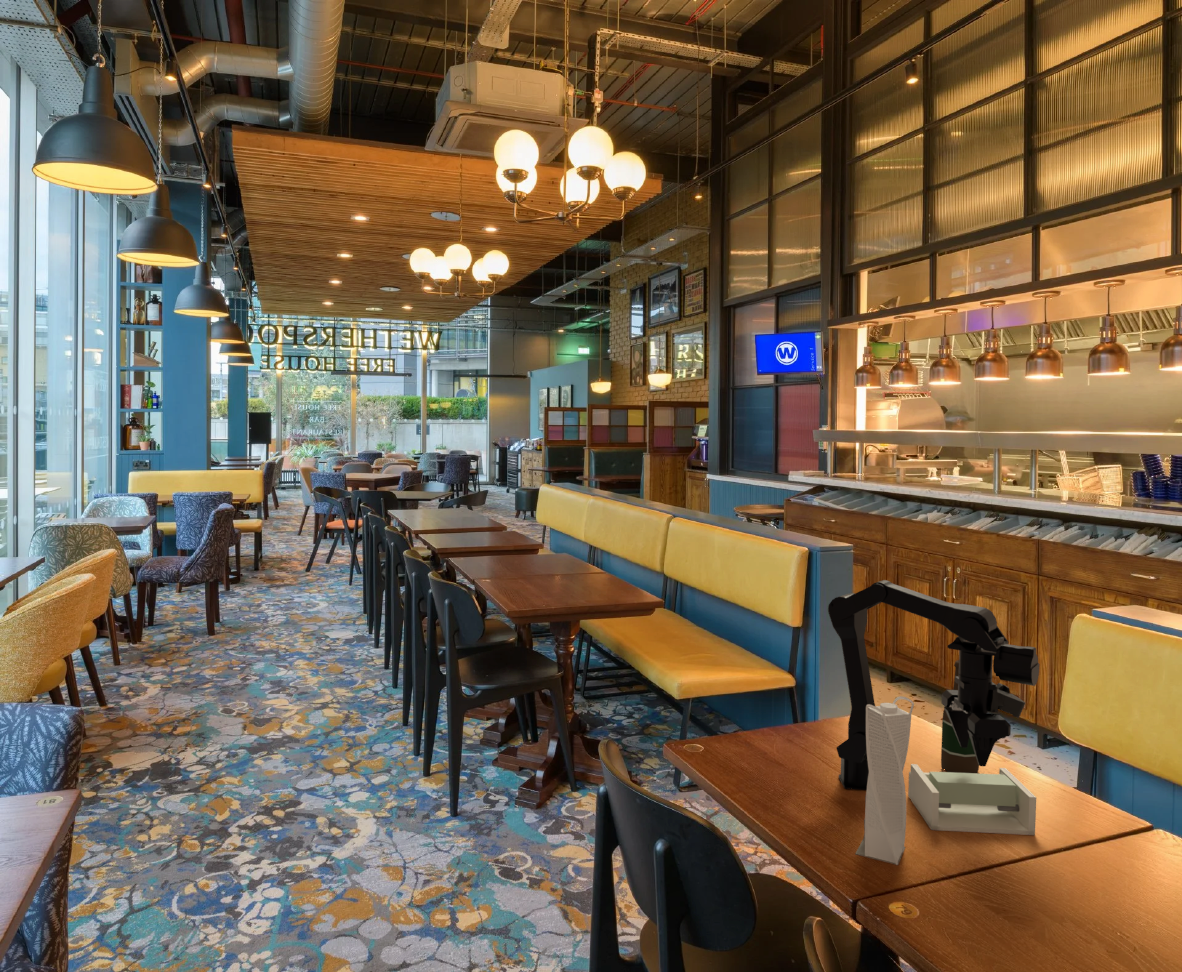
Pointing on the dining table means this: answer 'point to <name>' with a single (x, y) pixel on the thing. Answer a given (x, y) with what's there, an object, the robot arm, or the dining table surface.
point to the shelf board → (974, 788)
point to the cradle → (972, 809)
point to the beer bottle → (956, 746)
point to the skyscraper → (886, 782)
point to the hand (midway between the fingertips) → (972, 756)
